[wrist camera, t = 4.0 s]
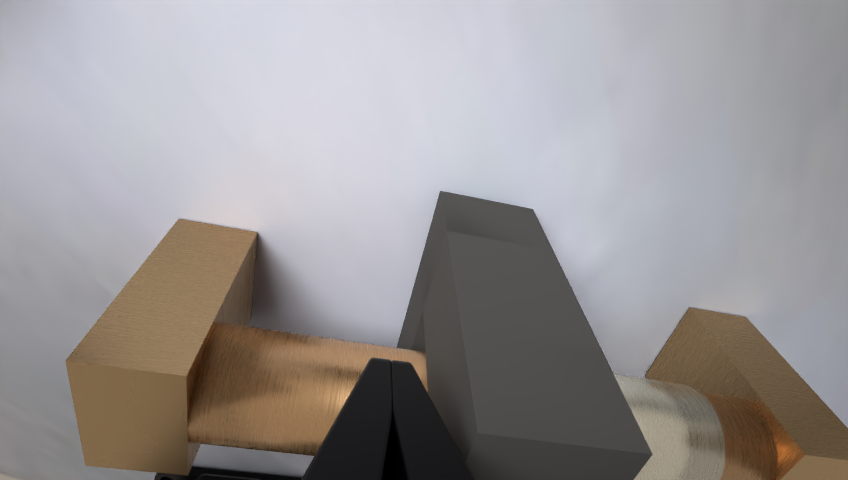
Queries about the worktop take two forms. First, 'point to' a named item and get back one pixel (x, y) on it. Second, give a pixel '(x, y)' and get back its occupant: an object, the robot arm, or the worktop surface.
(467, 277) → the dark grey square ring
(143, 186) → the worktop surface
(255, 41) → the worktop surface
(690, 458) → the square head rod
